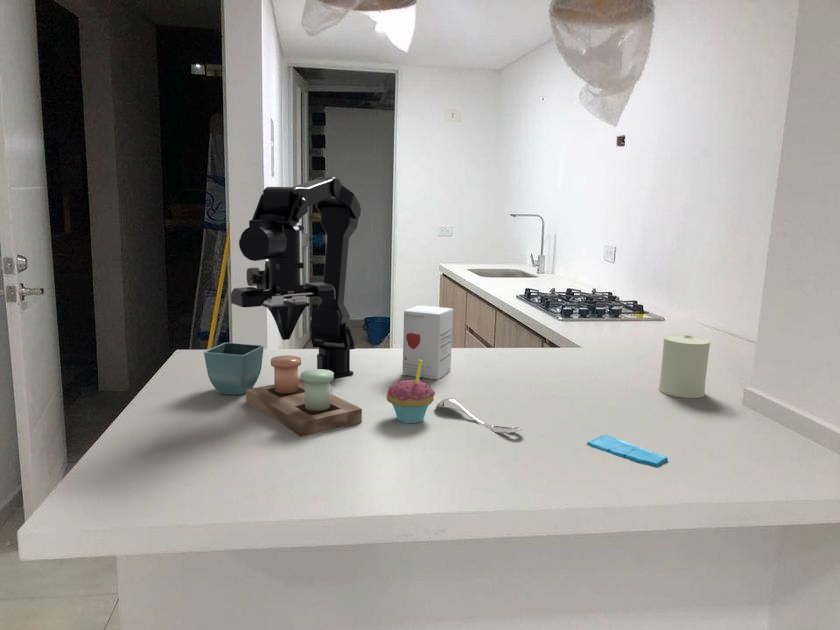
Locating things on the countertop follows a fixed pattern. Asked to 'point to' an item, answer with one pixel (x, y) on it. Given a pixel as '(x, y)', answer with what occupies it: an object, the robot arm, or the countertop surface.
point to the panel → (302, 410)
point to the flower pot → (234, 367)
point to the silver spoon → (458, 405)
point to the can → (684, 366)
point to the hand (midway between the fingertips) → (285, 339)
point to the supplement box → (427, 341)
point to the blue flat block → (627, 450)
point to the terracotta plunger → (286, 373)
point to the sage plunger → (317, 388)
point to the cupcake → (410, 398)
